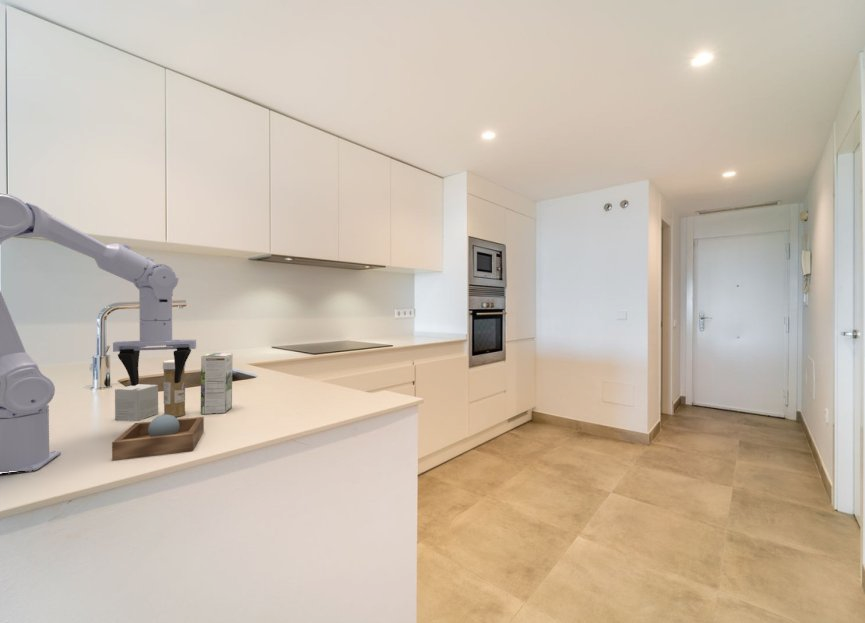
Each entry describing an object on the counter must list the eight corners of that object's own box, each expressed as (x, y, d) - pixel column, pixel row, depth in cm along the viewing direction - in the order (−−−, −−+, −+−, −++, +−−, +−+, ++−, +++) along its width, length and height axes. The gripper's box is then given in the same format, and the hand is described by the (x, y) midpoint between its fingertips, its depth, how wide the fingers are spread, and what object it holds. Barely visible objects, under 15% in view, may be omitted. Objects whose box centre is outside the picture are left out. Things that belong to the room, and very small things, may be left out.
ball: (143, 446, 72) (145, 418, 72) (151, 437, 76) (153, 412, 76) (175, 444, 74) (177, 417, 74) (180, 436, 78) (182, 411, 78)
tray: (112, 460, 67) (112, 442, 67) (135, 438, 78) (135, 422, 78) (192, 450, 72) (192, 434, 72) (203, 431, 83) (203, 416, 83)
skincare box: (136, 413, 96) (136, 383, 96) (159, 414, 96) (158, 384, 96) (114, 420, 90) (113, 388, 90) (138, 421, 90) (137, 389, 90)
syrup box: (208, 408, 101) (207, 352, 100) (233, 407, 102) (232, 352, 102) (200, 414, 95) (199, 355, 95) (226, 413, 96) (226, 355, 96)
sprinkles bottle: (185, 416, 94) (185, 360, 93) (162, 419, 91) (162, 362, 91) (185, 411, 98) (185, 358, 97) (163, 414, 95) (162, 359, 95)
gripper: (198, 319, 90) (198, 378, 90) (121, 320, 84) (122, 382, 85) (192, 320, 83) (192, 383, 84) (108, 321, 78) (109, 389, 78)
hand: (156, 383), depth 84 cm, fingers open, 7 cm apart
